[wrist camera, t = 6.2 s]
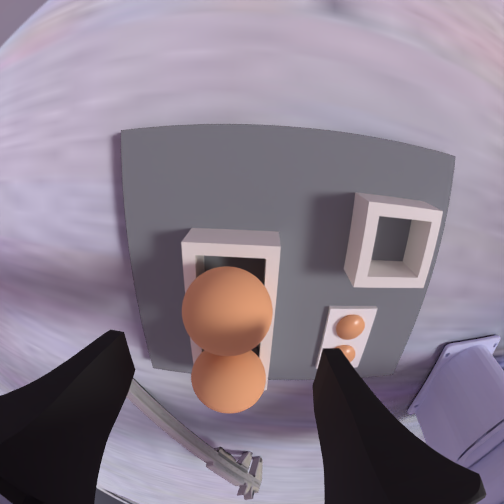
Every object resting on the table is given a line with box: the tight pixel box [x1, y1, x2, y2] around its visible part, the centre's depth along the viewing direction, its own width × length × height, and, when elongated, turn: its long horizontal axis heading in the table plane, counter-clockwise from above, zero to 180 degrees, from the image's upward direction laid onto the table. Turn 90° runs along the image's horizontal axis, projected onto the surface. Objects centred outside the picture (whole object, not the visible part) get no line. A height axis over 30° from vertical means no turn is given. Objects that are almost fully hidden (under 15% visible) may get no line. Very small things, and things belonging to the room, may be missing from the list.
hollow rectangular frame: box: [181, 228, 281, 390], centre depth 15 cm, size 10×4×2 cm, turn 178°
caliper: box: [126, 379, 262, 500], centre depth 20 cm, size 20×1×6 cm, turn 40°
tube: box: [344, 192, 443, 288], centre depth 13 cm, size 4×4×2 cm
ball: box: [182, 266, 273, 356], centre depth 12 cm, size 4×4×4 cm
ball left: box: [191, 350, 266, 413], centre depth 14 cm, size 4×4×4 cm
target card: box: [316, 306, 378, 369], centre depth 16 cm, size 5×3×1 cm, turn 178°
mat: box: [121, 124, 455, 380], centre depth 16 cm, size 16×18×1 cm
